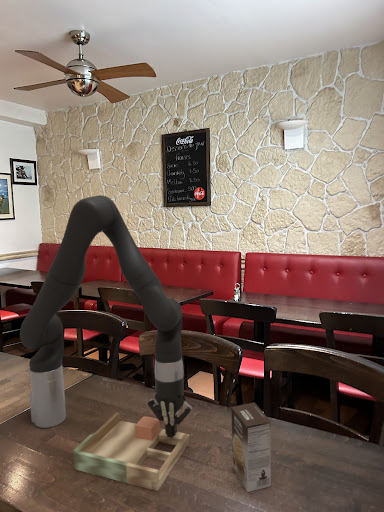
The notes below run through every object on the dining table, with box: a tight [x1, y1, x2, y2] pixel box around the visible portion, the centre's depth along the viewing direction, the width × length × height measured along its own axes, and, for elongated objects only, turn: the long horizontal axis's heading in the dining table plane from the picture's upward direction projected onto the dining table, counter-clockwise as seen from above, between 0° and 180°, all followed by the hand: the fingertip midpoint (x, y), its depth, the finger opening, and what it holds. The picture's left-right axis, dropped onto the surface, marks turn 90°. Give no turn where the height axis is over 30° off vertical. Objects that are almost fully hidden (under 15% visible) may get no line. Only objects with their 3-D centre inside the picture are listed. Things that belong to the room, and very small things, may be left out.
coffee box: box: [231, 402, 272, 493], centre depth 90 cm, size 9×6×16 cm
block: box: [135, 415, 161, 441], centre depth 106 cm, size 5×5×4 cm
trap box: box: [73, 411, 191, 492], centre depth 101 cm, size 23×20×5 cm
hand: (171, 435), depth 104 cm, fingers closed
